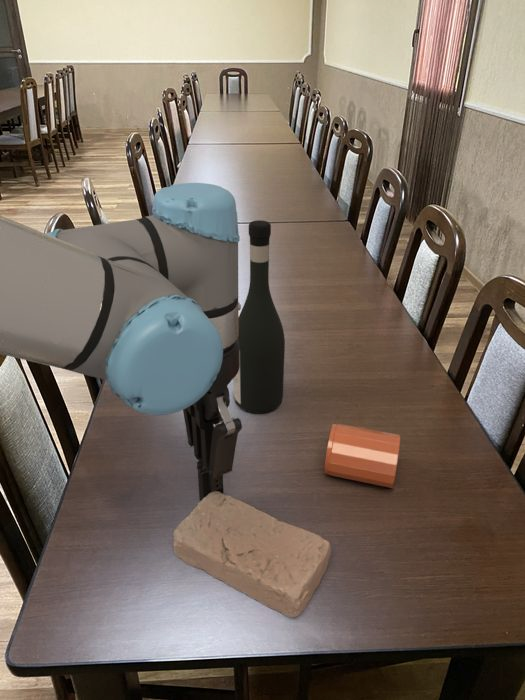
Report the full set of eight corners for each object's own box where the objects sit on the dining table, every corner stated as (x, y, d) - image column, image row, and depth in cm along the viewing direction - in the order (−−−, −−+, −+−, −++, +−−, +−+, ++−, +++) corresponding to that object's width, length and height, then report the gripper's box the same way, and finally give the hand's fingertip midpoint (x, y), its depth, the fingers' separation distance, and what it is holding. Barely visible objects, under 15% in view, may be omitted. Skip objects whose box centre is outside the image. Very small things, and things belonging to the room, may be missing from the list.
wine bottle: (226, 410, 86) (221, 228, 71) (243, 383, 93) (242, 211, 77) (274, 420, 84) (279, 235, 69) (288, 392, 90) (296, 217, 75)
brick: (170, 557, 62) (167, 529, 60) (212, 509, 68) (210, 482, 66) (297, 628, 55) (299, 600, 53) (331, 567, 61) (334, 540, 59)
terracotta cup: (322, 473, 69) (393, 487, 67) (332, 419, 71) (401, 432, 69) (326, 475, 76) (391, 488, 74) (335, 426, 77) (398, 438, 75)
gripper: (265, 359, 52) (262, 525, 65) (210, 306, 62) (216, 459, 74) (194, 380, 49) (205, 550, 62) (147, 321, 59) (165, 478, 71)
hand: (211, 500), depth 68 cm, fingers closed
